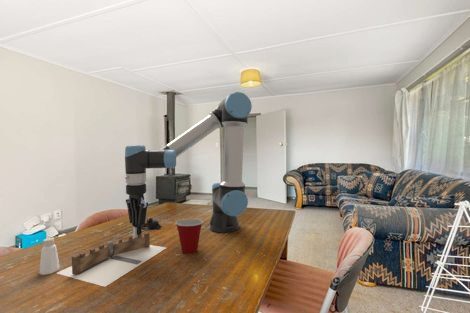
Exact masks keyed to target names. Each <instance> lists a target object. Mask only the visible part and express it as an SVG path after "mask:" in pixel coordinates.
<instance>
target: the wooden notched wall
mask: <svg viewBox="0 0 470 313" xmlns="http://www.w3.org/2000/svg"><path fill="white" fill-rule="evenodd" d="M150 243H151V242H150V232H149V231H147V232H146V231H145V232H144V234H143V235H141V234H139V235H138V238H134V237H133V236H131V235H130V236H128V239H126V240H123V238H121V237H120V238H118V241H117V242H114V241H113V240H110V241H107V243H106V246H108V257H112V256H114V255H118V254H122V253H126V252H129V251H133V250H137V249H141V248H147V247H150V245H151V244H150Z"/></svg>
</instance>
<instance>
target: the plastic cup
mask: <svg viewBox="0 0 470 313" xmlns="http://www.w3.org/2000/svg"><path fill="white" fill-rule="evenodd" d="M203 223H204V220H202V219H200V218H182V219H178V220H176V221H175V225H176V229H177V232H178V238H179V242H180V243H179V245H180V246H181V251H182V253H183V254H185V255H192V254H195V253H196V252H197V251H198V249H199V248H198V247H199V242H200V236H201V235H200V234H201V230H202V226H203Z"/></svg>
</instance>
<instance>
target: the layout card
mask: <svg viewBox="0 0 470 313" xmlns="http://www.w3.org/2000/svg"><path fill="white" fill-rule="evenodd" d="M166 249H167V247H165V246H158V245H152V244H150V247H147V248H141V249H137V250H133V251H129V252H126V253H122V254H118V255H114V256H112V257H109V258H107V259H105V260H103V261H101V262H99V263H97V264H95V265H93V266H91V267H89V268H87V269H85V270H83V271H81V272H80V273H78V274H76V275H74V274H72V265H71V266H69V267H66V268H65V269H62V270H60V271H57V272H56V275H60V276H65V277H68V278H71V279H75V280H79V281H82V282H86V283H88V284H89V283H90V284H93V285H97V286H101V287H104V288H106V287H107V286H108V285H110V284H112V283H115V281H116V280H118V279H119V278H121V277H123V276H125V275H126V274H127V273H129V272H131V271H132V270H134V269H136V268H138V267H139V266H140V265H142V264H144V263H146V262H147V261H149V260H150V259H151V258H153V257H155V256H156V255H158V254H159V253H161V252H162V251H164V250H166Z"/></svg>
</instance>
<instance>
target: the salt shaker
mask: <svg viewBox="0 0 470 313" xmlns="http://www.w3.org/2000/svg"><path fill="white" fill-rule="evenodd" d="M57 247H58V246H57V244H55V238H54V237H48V238H45V239H43V247H42V248H41V251H40V261H39V262H40V264H39V275H42V276H45V275H50V274H53V273H55V272H59V270H60V268H61V266H60V261H59V260H60V259H59V254H58V248H57Z"/></svg>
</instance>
